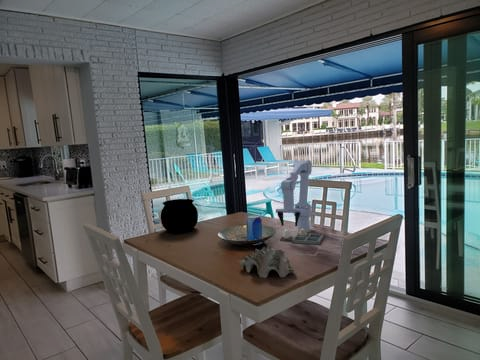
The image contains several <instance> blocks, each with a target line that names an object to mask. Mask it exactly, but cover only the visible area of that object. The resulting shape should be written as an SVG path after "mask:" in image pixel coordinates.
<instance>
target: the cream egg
mask: <svg viewBox="0 0 480 360" xmlns="http://www.w3.org/2000/svg"><path fill="white" fill-rule="evenodd" d="M282 236H283V238H284V239H290V237H291V236H292V234H291V232H290V230H289V229H285V230H284V231H283V233H282Z"/></svg>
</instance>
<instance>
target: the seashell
mask: <svg viewBox="0 0 480 360" xmlns="http://www.w3.org/2000/svg"><path fill="white" fill-rule="evenodd" d="M254 252H255V253H254ZM254 252H253V251H250V252H249V253H250V254H249V253H248V254H246V255H242V260H237V263H238V264H239V265H240V266H242V267H245V268H246V269H245V270H246V272H247V273H250V272H251V271H252V269H253V267H254V266H256V269H257V274H258V276H259V278H264V279H266V278H267V277H268V276H269V273H270V271H272V270H274V271H275V272H277V273H278V275H279V277H280V278H286V276H287V275H288V274H290V273H295V269H293V266H291V264H290V260H289V259H288V257H285V255H286V254H285V251H283V250H282V249H276V248H272V246H271V245H269V244H268V245H267V246H266V247H265V246H263V247H262V248H261V249H257V248H255V249H254Z"/></svg>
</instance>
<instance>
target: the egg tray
mask: <svg viewBox="0 0 480 360" xmlns="http://www.w3.org/2000/svg"><path fill="white" fill-rule="evenodd" d="M299 233H300V232H298V233H296V234H295V236H294V238H293V239H292V240H291V242H290V243H291V244H303V245H305V244H306V245H315V246H316V245H320V243H321V242H322V240H323V239H324V237H325V234H323V233H311V232H310V233H309V232H307V237H303V236H299Z"/></svg>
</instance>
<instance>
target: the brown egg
mask: <svg viewBox="0 0 480 360" xmlns="http://www.w3.org/2000/svg"><path fill="white" fill-rule="evenodd" d="M298 233H299V236H303V237H308V236H307V233H308V232H306V230H305V229H301V230H300V232H298Z"/></svg>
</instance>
